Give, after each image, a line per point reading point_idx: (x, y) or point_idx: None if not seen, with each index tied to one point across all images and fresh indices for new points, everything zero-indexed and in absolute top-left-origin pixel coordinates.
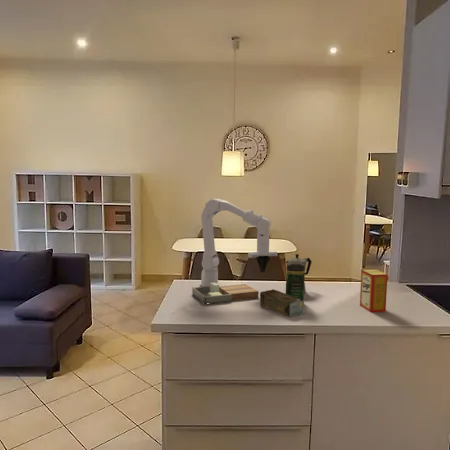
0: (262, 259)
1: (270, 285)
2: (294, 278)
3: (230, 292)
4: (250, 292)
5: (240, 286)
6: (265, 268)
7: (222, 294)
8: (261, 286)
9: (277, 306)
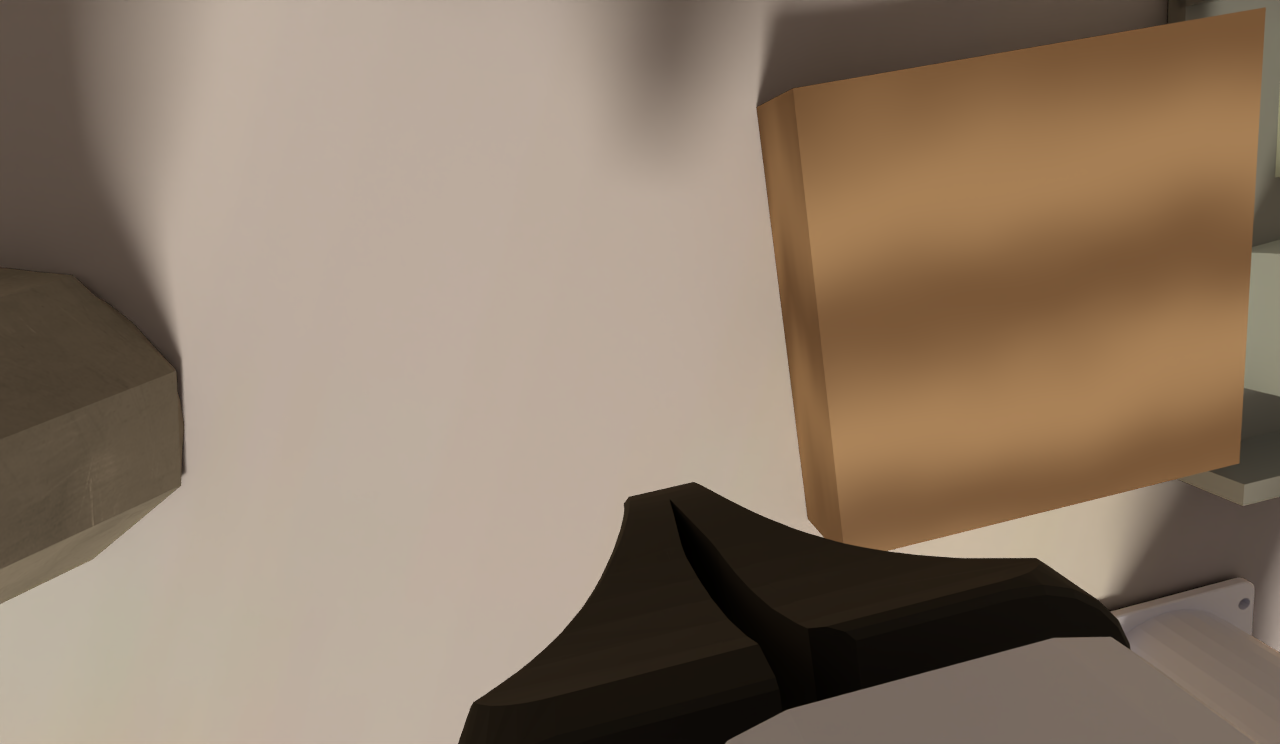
0: (969, 585)
1: (388, 723)
2: None
3: (1224, 106)
4: (932, 66)
5: (962, 433)
6: (623, 527)
7: None
8: None
9: None
